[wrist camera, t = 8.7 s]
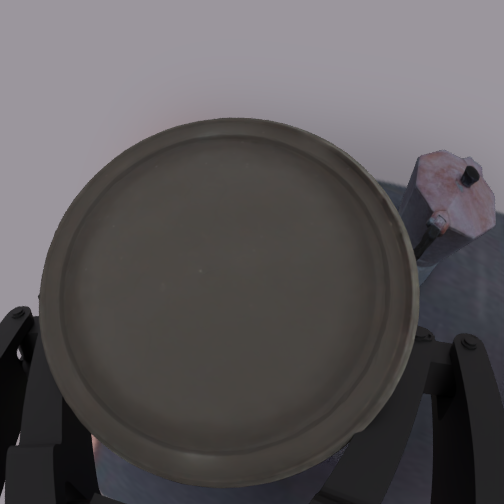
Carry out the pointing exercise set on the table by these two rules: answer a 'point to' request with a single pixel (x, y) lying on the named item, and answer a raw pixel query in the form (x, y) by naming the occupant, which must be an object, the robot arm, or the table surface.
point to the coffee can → (229, 302)
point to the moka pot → (445, 207)
